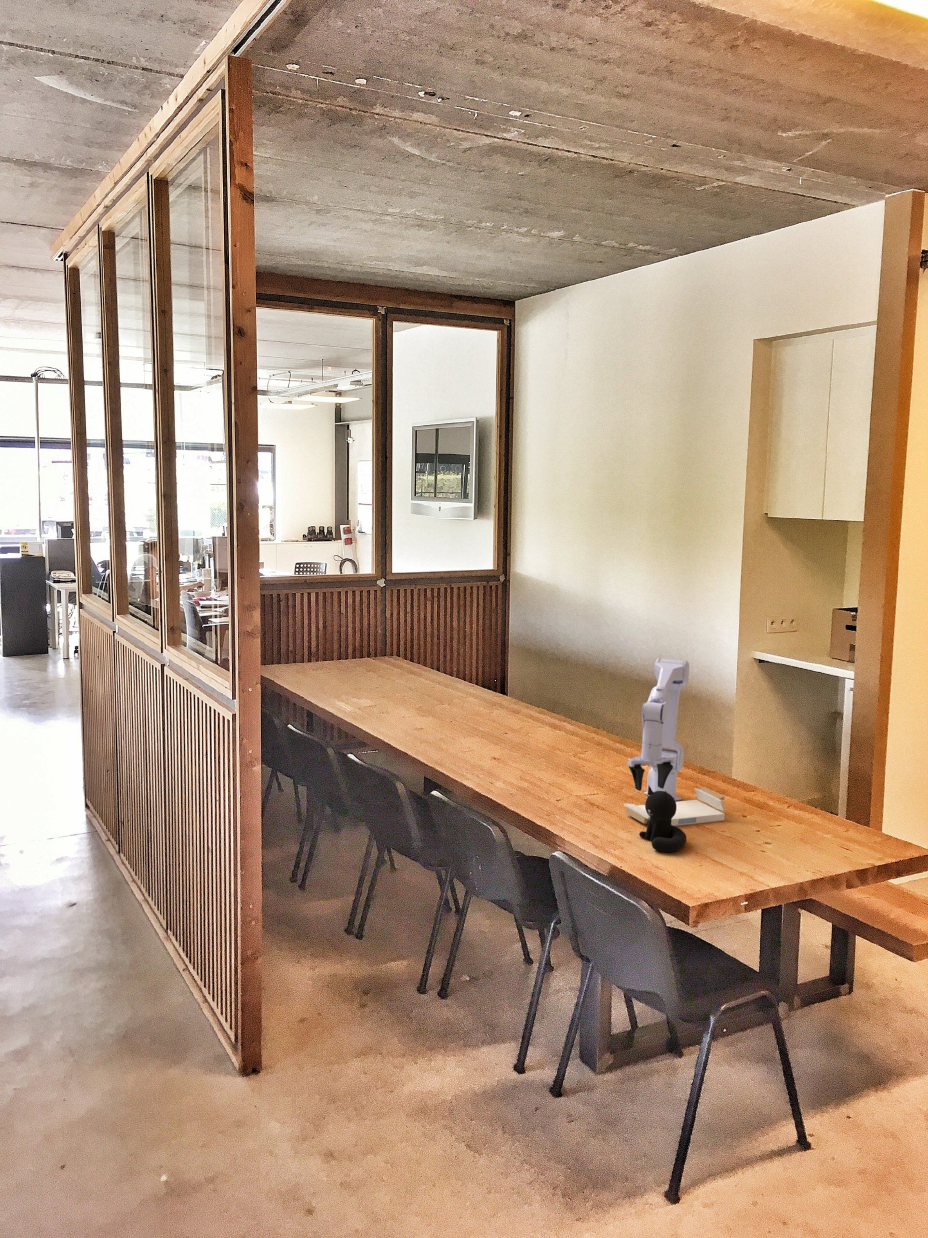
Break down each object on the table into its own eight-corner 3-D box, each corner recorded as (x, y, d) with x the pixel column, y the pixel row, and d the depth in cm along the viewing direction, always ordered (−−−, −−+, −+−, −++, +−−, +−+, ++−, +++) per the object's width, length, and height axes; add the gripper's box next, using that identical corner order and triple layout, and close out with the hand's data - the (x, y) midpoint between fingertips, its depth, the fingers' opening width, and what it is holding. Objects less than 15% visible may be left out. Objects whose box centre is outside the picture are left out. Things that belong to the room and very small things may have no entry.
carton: (634, 812, 303) (634, 806, 302) (696, 806, 311) (696, 799, 311) (660, 827, 290) (661, 820, 290) (724, 820, 298) (724, 814, 298)
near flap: (634, 804, 302) (632, 812, 302) (624, 803, 300) (622, 811, 300) (658, 818, 290) (656, 826, 290) (648, 817, 288) (646, 825, 289)
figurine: (624, 838, 280) (627, 785, 278) (663, 831, 287) (667, 779, 285) (662, 857, 266) (666, 802, 264) (702, 849, 273) (706, 795, 271)
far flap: (723, 811, 298) (729, 808, 299) (720, 801, 297) (726, 797, 298) (697, 798, 310) (703, 795, 311) (694, 788, 309) (700, 785, 310)
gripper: (638, 748, 287) (635, 794, 289) (681, 744, 293) (678, 790, 294) (625, 742, 294) (622, 787, 295) (667, 739, 299) (664, 783, 301)
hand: (649, 788), depth 295 cm, fingers open, 7 cm apart
